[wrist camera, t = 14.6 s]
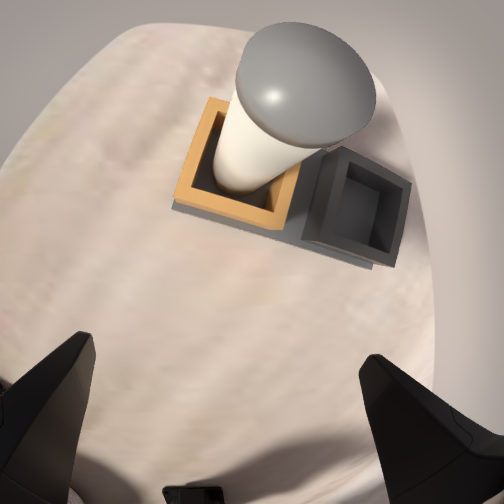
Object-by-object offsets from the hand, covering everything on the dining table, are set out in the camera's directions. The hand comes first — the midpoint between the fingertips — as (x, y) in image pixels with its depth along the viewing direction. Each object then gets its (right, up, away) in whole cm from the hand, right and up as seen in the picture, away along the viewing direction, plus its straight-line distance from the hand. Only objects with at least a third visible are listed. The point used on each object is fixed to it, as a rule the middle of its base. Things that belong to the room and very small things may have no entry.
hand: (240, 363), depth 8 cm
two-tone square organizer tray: (+3, +8, +13) cm, 15 cm away
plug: (-1, +9, +11) cm, 14 cm away
